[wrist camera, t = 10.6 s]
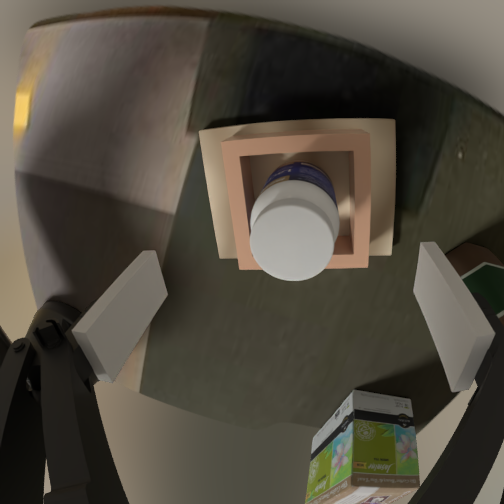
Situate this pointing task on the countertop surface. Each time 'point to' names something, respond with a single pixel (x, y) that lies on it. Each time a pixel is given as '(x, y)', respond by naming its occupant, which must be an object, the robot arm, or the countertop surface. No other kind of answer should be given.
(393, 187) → the board
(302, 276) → the pill bottle
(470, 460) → the robot arm
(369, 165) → the well
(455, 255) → the beer bottle
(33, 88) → the countertop surface
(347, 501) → the tea box
